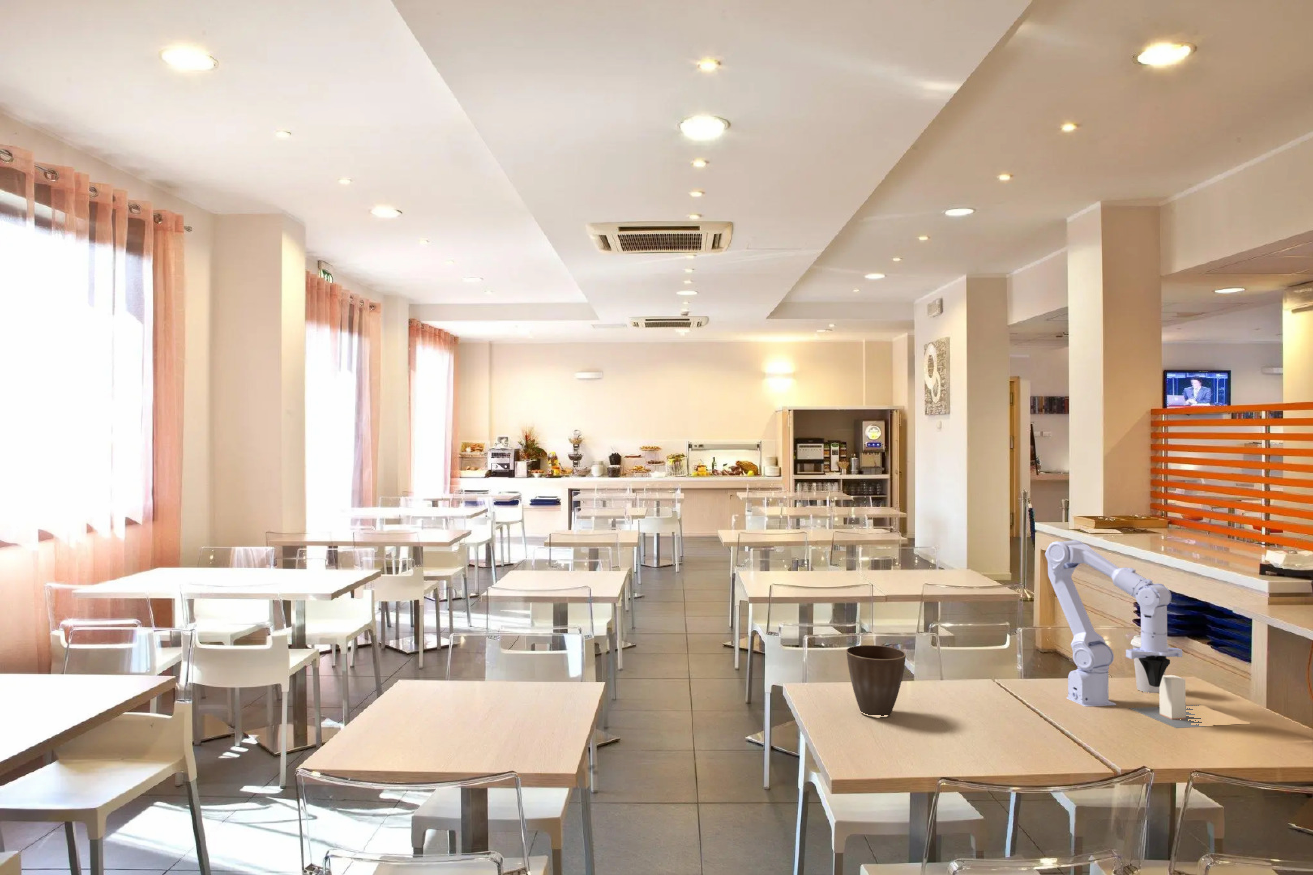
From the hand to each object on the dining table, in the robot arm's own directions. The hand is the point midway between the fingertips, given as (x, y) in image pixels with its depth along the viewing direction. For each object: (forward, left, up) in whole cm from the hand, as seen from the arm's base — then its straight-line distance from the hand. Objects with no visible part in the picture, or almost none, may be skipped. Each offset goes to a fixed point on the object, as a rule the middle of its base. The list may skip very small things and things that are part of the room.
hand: (1154, 685), depth 209 cm
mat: (+10, 0, -8) cm, 13 cm away
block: (+5, 0, -8) cm, 9 cm away
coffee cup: (+18, +23, -9) cm, 31 cm away
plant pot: (-69, +14, -9) cm, 71 cm away
